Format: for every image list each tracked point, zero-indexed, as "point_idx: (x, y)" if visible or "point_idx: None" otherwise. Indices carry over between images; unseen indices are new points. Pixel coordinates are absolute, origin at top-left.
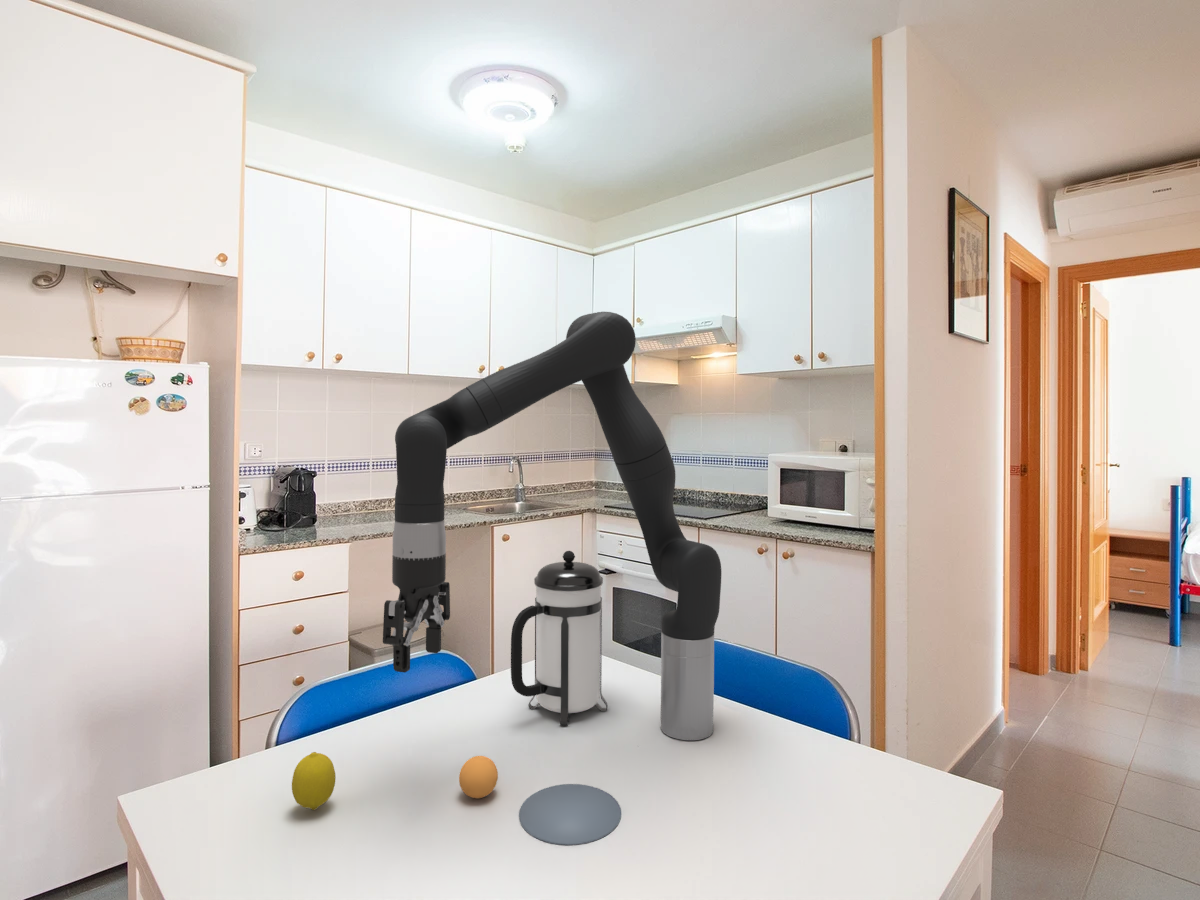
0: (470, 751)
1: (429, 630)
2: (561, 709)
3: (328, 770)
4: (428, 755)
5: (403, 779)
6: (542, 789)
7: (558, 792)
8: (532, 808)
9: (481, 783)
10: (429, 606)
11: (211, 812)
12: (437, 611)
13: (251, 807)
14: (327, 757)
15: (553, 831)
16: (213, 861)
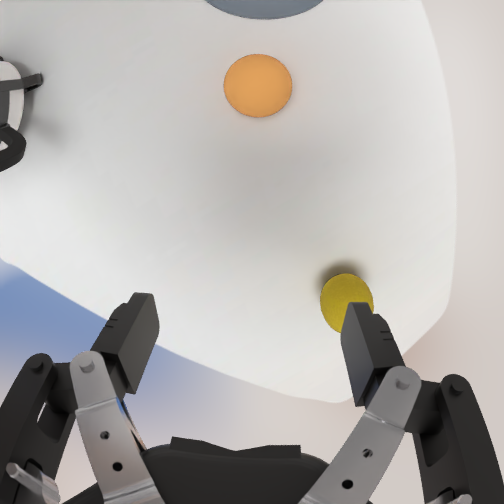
0: (142, 163)
1: (132, 378)
2: (23, 87)
3: (355, 294)
4: (176, 217)
5: (248, 217)
6: (217, 7)
7: None
8: (271, 3)
9: (286, 68)
10: (177, 501)
11: None
12: (124, 443)
13: None
14: (343, 311)
15: None
16: (419, 307)
